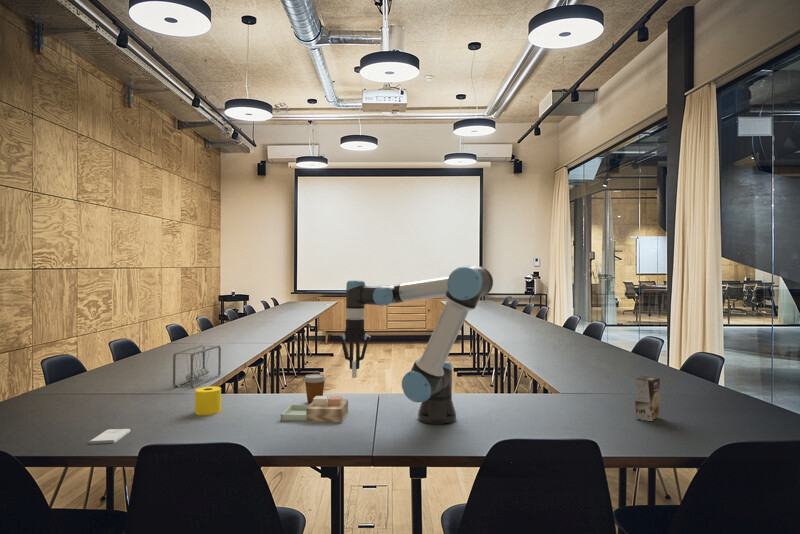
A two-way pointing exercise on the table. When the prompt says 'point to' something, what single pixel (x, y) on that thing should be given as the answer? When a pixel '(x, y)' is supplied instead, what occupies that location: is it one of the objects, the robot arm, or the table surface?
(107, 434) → the external hard drive
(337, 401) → the terracotta tile
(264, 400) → the table surface
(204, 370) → the newton's cradle
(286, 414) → the tray
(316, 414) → the tan wooden flat block
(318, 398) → the cream tile
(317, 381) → the disposable coffee cup
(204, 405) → the yellow toilet paper roll
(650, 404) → the coffee box
